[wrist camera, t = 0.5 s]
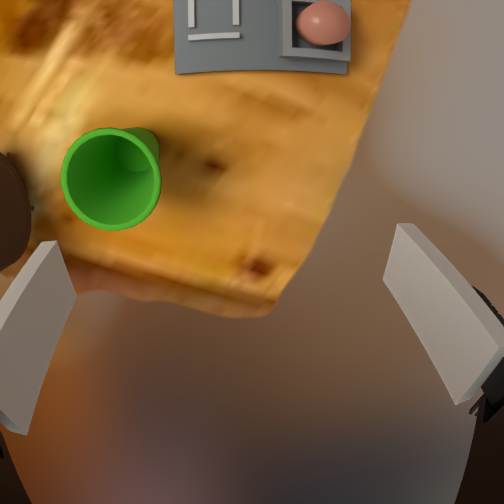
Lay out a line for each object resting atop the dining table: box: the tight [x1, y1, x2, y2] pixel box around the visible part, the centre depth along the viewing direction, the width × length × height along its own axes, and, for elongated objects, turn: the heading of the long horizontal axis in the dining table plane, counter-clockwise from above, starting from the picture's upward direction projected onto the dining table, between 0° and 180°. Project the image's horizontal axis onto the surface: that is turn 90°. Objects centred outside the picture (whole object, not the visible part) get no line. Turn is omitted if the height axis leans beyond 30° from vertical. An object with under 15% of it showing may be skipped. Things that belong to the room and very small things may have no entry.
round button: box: [295, 1, 350, 46], centre depth 23 cm, size 4×4×3 cm
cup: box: [61, 127, 162, 231], centre depth 28 cm, size 9×9×11 cm
